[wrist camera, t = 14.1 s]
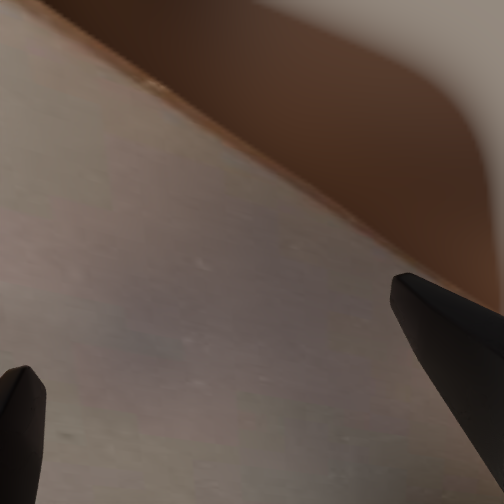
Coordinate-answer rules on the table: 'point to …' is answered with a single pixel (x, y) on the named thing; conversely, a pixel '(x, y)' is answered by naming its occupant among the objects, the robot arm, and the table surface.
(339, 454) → the table surface
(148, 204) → the table surface
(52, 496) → the table surface
